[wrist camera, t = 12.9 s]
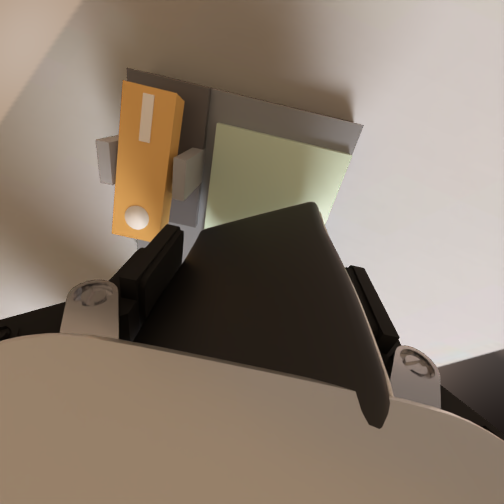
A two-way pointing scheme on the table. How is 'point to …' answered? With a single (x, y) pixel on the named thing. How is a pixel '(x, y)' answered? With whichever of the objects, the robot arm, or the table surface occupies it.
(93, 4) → the table surface
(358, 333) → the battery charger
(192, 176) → the grey holder stand
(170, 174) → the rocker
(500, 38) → the table surface
